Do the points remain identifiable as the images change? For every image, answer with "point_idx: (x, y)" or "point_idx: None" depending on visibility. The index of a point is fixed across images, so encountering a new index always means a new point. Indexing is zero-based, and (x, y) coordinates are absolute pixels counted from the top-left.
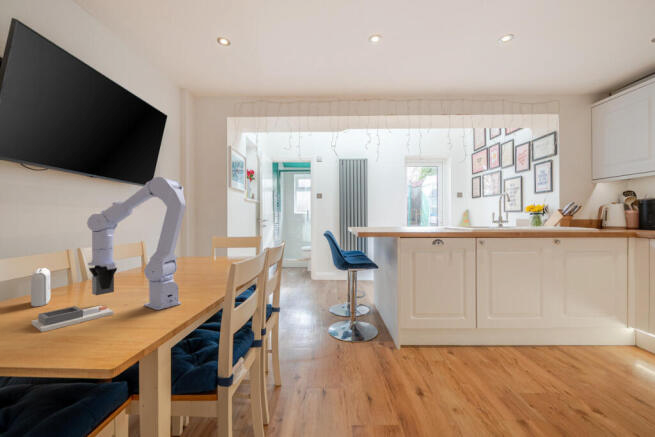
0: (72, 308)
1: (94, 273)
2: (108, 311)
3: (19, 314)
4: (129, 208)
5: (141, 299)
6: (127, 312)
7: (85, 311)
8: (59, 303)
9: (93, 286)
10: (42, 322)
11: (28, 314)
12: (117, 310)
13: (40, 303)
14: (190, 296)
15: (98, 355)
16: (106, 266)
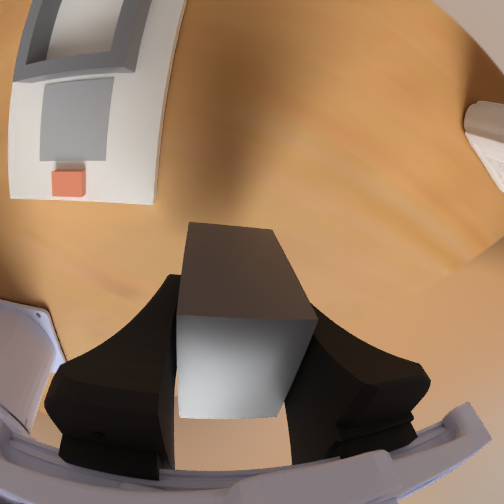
0: (113, 52)
1: (328, 361)
2: (17, 182)
3: (421, 20)
4: None
5: None
6: (6, 235)
7: (95, 109)
8: (443, 165)
9: (257, 257)
10: None
11: (393, 21)
12: (56, 227)
13: (471, 116)
14: None
15: None
16: (99, 478)
